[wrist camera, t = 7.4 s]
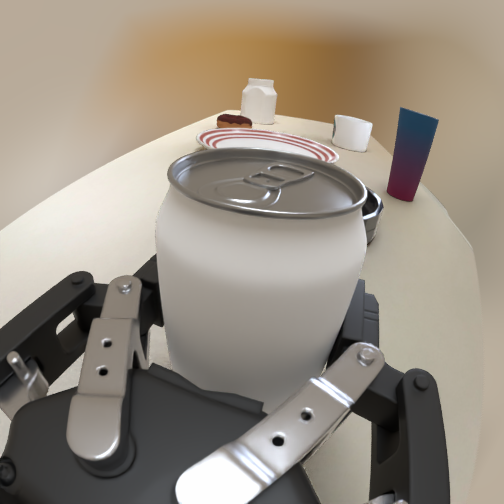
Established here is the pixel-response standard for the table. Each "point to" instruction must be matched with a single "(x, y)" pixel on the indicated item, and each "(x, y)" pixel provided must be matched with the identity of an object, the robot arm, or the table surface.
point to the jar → (259, 101)
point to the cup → (410, 153)
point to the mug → (351, 133)
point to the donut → (233, 121)
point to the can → (257, 267)
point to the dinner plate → (265, 142)
